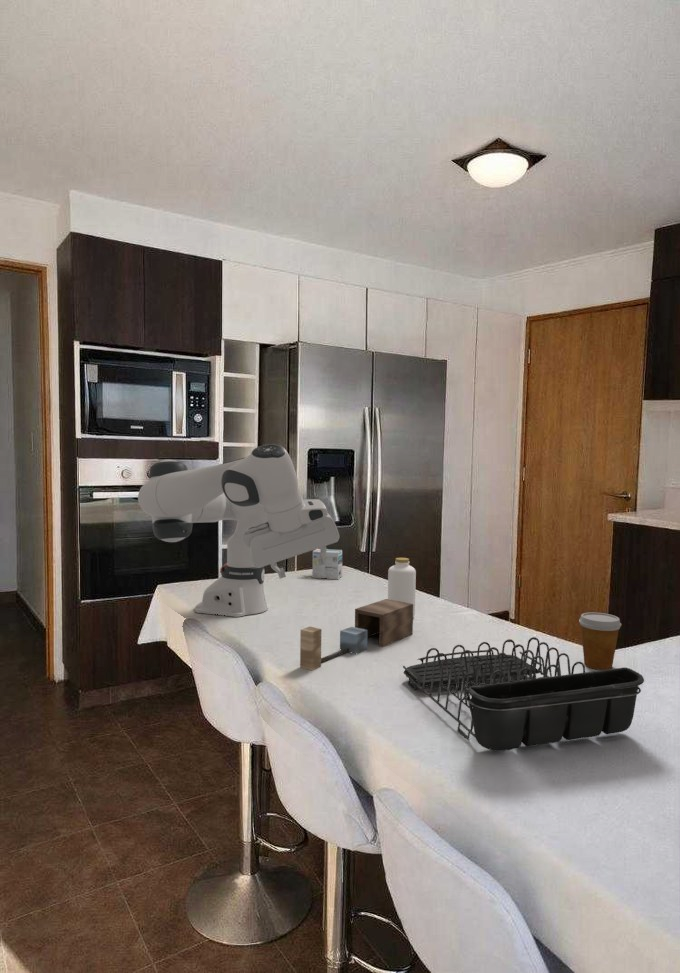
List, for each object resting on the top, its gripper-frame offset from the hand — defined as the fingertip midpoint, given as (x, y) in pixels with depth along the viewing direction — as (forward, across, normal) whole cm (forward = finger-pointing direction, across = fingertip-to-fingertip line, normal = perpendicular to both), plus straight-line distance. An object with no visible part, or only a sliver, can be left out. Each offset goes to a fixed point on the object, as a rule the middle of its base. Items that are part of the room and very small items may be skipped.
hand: (302, 570), depth 152 cm
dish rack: (+28, +29, -33) cm, 52 cm away
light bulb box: (+55, +17, +94) cm, 111 cm away
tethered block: (+27, +2, +3) cm, 28 cm away
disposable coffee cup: (+42, +61, -17) cm, 76 cm away
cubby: (+36, +18, +16) cm, 43 cm away
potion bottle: (+44, +28, +34) cm, 62 cm away
